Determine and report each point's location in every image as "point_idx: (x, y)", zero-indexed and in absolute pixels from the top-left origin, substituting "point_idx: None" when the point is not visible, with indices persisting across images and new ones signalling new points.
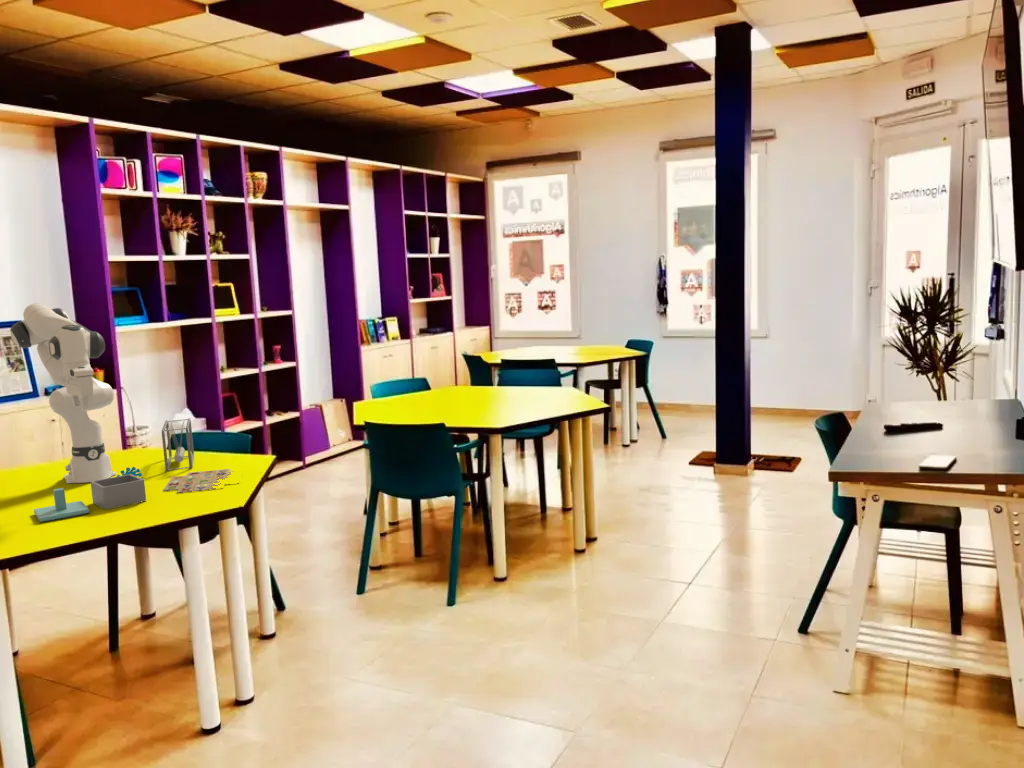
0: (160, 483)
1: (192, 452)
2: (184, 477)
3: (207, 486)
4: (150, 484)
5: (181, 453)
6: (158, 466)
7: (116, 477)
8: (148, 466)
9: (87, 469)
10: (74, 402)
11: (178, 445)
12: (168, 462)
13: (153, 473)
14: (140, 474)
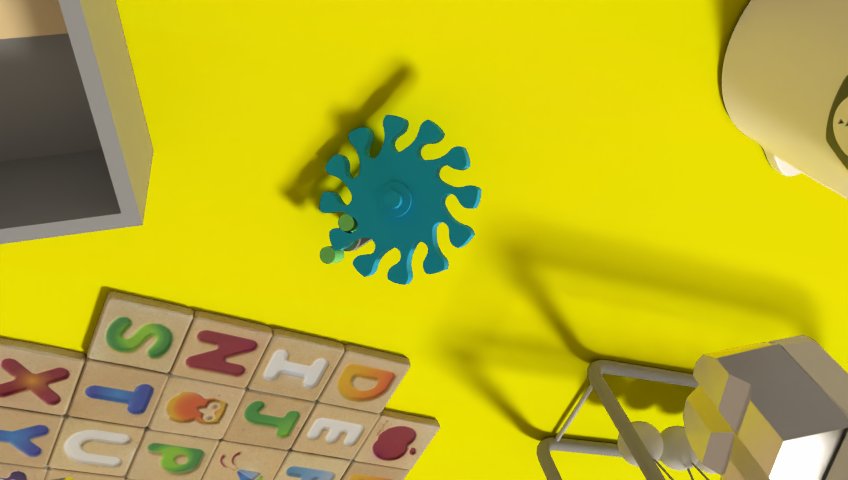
0: (347, 306)
1: None
2: (346, 406)
3: (37, 462)
4: None
5: (670, 466)
6: (734, 344)
7: (97, 127)
8: (782, 312)
9: (810, 41)
10: (828, 420)
11: None
12: None
13: (614, 310)
14: (357, 267)
